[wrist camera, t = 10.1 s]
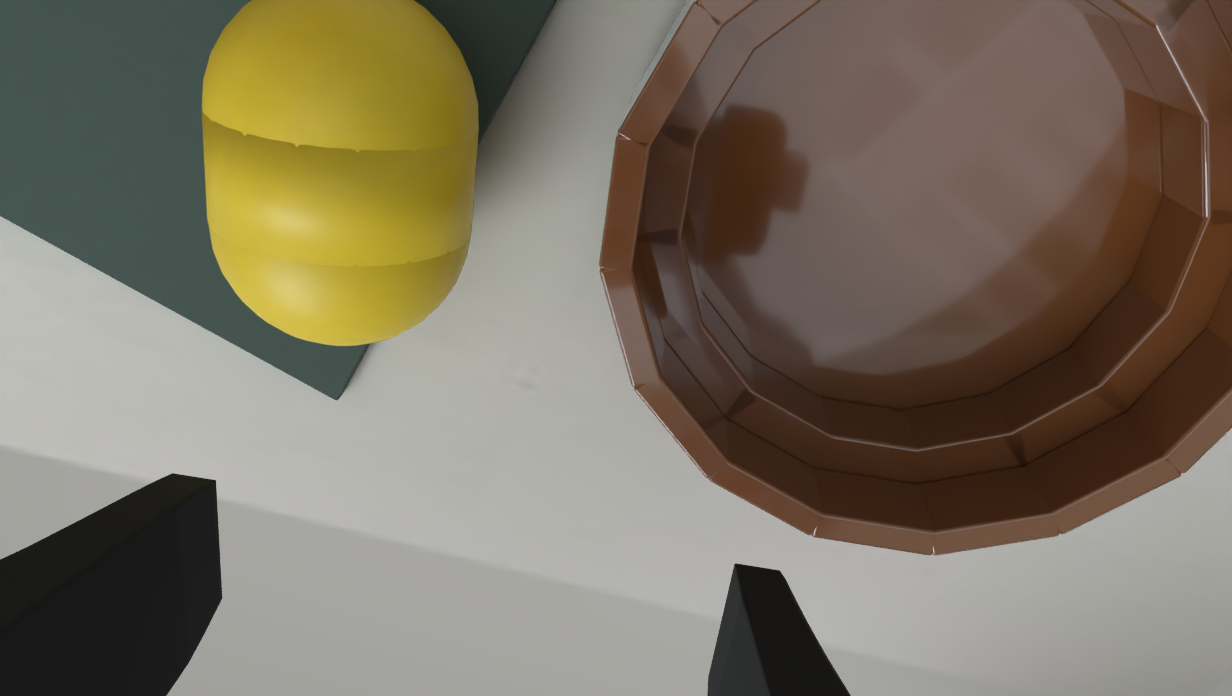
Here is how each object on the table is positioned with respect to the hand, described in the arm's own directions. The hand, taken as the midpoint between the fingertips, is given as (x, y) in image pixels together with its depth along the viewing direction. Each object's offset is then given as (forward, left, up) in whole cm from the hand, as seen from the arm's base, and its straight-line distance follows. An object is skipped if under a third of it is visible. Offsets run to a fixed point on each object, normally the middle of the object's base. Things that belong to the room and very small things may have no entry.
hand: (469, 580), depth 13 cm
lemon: (+4, +5, -9) cm, 11 cm away
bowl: (+4, -7, -9) cm, 12 cm away
